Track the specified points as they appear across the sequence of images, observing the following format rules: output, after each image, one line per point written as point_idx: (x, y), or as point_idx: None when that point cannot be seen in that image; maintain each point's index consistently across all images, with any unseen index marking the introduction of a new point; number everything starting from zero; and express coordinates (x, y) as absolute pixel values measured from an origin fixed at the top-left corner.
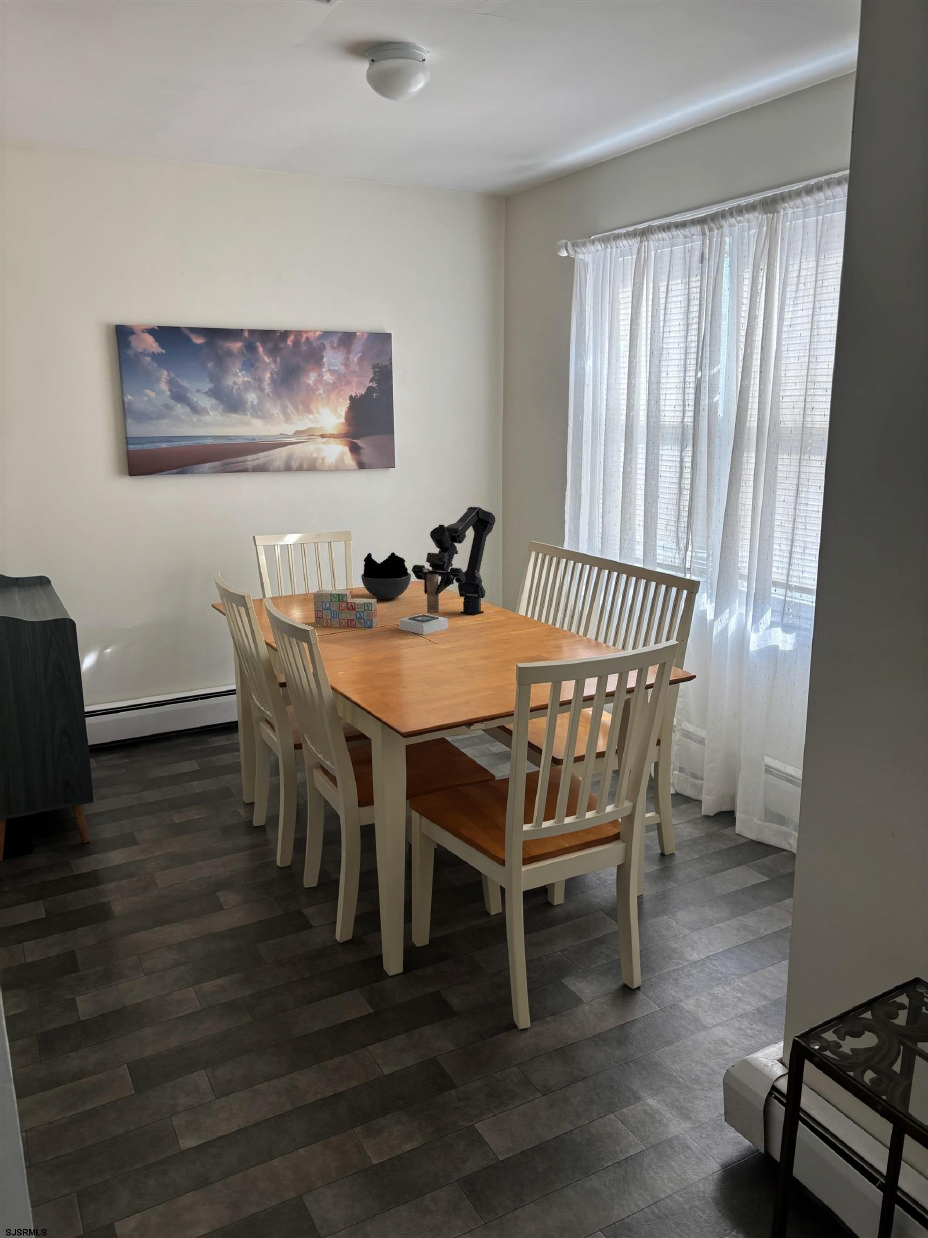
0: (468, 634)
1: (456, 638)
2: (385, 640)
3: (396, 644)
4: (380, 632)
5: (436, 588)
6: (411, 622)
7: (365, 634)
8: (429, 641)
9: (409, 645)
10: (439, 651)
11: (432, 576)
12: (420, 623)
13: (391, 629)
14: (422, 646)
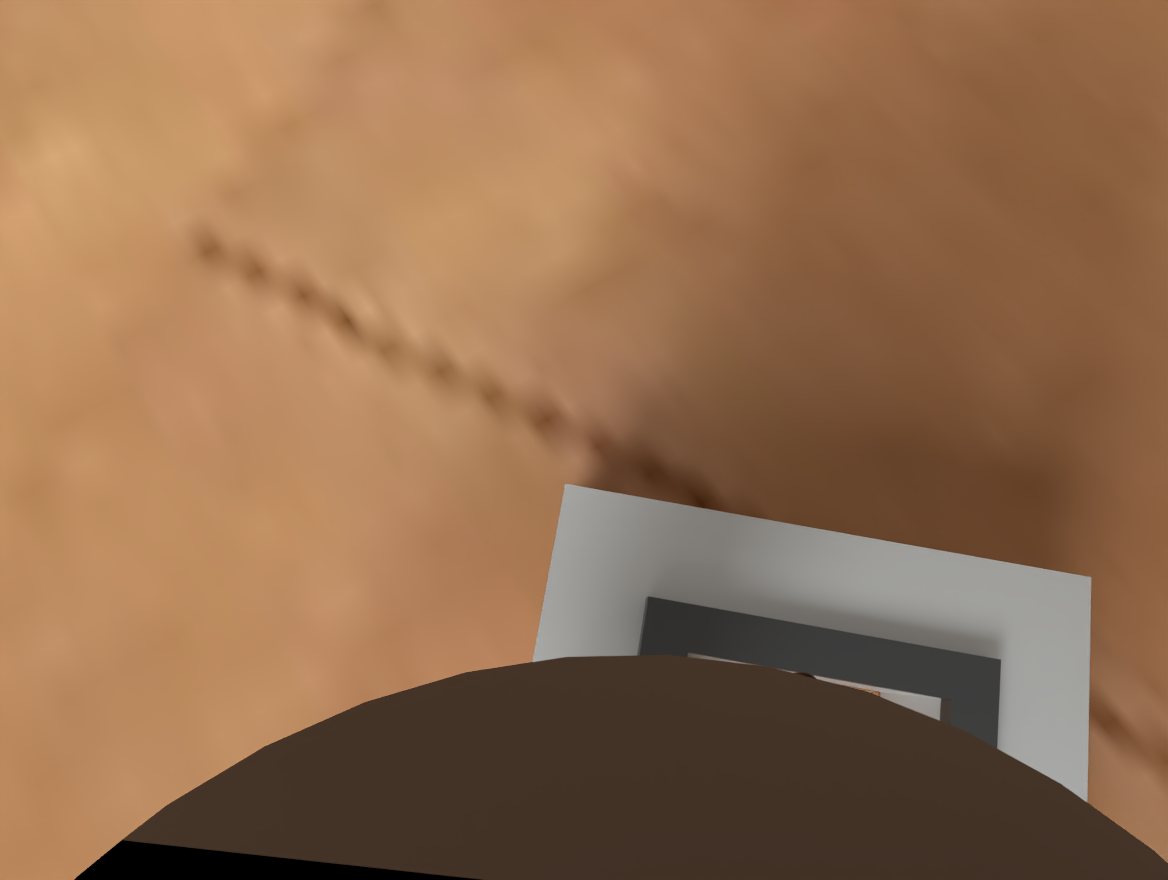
0: (24, 853)
1: (88, 567)
2: (770, 92)
3: (569, 26)
4: (1067, 333)
5: (317, 875)
6: (819, 531)
7: (1127, 182)
8: (324, 283)
9: (428, 56)
10: (23, 19)
11: (206, 802)
12: (647, 519)
13: (1074, 522)
14: (283, 86)
